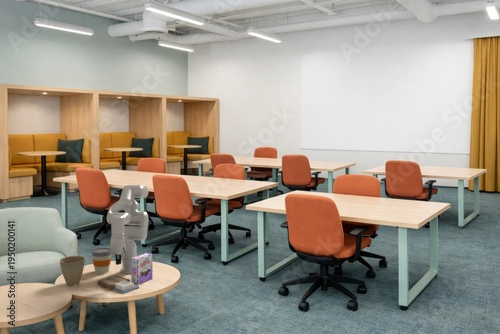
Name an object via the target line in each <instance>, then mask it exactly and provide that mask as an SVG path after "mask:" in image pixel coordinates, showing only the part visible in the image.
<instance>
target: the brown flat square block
mask: <svg viewBox="0 0 500 334" xmlns="http://www.w3.org/2000/svg"><path fill="white" fill-rule="evenodd" d="M125 280H126V281H129V282H131V278H130V279H129V278H127V277H124V276H120V275H117V274H114V275H112V276H108V277H105V278H102V279H99V280H98V279H97V281H96V282H97V284H96V285H97V286H98V287H101V288H103V289H106V290H109V291H114V290H113V288H115V283H119V282H122V281H125Z"/></svg>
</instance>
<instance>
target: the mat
mask: <svg viewBox="0 0 500 334" xmlns="http://www.w3.org/2000/svg"><path fill="white" fill-rule="evenodd" d="M137 289H140V286H139V285H137V284H134V287H132V288H129V289H127V290H124V291H123V290H120V289H117V288H113V290H112V291H115V292H117V293H121V294H123V295H124V294H127V293H130V292H132V291H134V290H137Z"/></svg>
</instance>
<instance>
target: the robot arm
mask: <svg viewBox="0 0 500 334" xmlns="http://www.w3.org/2000/svg"><path fill="white" fill-rule="evenodd" d="M148 195H149V189H148V187H147V185H141V184H140V185H139V184H126V185H124V186H123V188H122V191H121V193H120V198H119V200H118V201H115V202H114V203H113V204H112V205H111V206H110V208H109V209H108V211H107V216H106V221H107V223H108V225H109V224H110V225H111V237H110V241H109V249H110V252H111V254H113V255H114V258H115V265H122V266H121V267H122V268H121V269H119V273H120V274H124V275H131V258H133V257H136V256H138V255H137V244H136V242H135V241H144V240H146V239H147V235H148V228H149V214H148V213H147V212H146V211H143V210H141V211H139V210H140V205H139V202H137V200H136V199H146V198H147V197H148ZM123 210H125V212H122V211H123ZM120 211H121V212H120Z"/></svg>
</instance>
